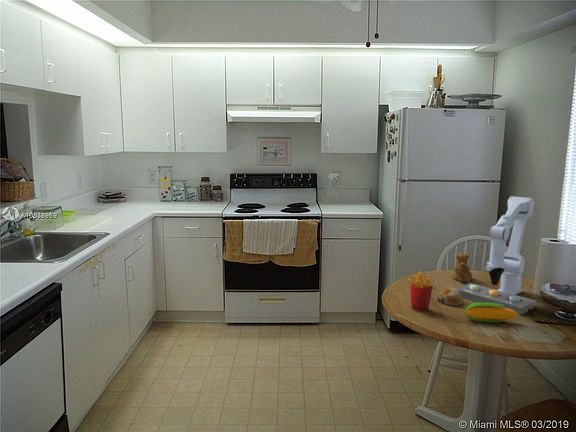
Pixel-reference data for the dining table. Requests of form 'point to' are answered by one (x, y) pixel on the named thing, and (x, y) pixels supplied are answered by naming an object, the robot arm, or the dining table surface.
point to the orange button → (494, 293)
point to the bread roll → (450, 297)
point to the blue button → (514, 298)
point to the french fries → (420, 292)
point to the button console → (495, 298)
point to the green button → (474, 287)
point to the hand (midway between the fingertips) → (494, 284)
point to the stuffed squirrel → (462, 269)
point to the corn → (489, 312)
